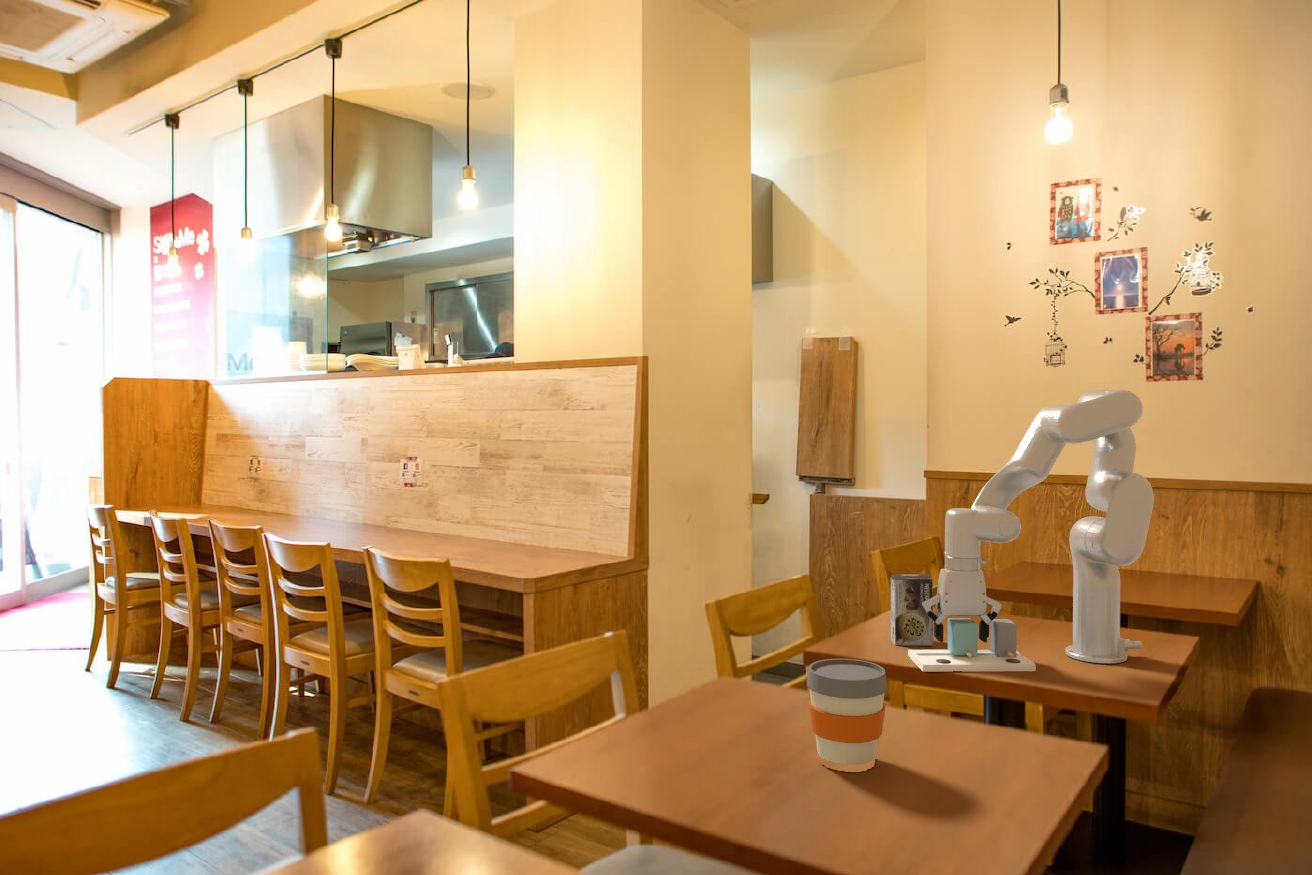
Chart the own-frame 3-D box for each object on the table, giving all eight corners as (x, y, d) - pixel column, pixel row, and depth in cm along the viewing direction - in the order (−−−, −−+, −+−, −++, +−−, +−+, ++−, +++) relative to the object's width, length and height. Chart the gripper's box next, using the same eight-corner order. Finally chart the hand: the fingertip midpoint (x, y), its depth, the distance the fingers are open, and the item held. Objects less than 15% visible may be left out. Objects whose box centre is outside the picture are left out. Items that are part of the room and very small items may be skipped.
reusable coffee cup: (792, 753, 149) (792, 662, 148) (858, 742, 153) (858, 654, 153) (833, 782, 137) (833, 684, 136) (903, 770, 141) (903, 675, 141)
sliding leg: (969, 648, 204) (970, 618, 204) (981, 658, 196) (981, 626, 196) (947, 649, 204) (947, 618, 204) (958, 658, 196) (958, 626, 196)
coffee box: (928, 639, 220) (928, 573, 220) (933, 646, 214) (933, 578, 213) (890, 638, 221) (890, 573, 221) (894, 645, 215) (894, 578, 214)
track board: (1014, 655, 205) (1014, 617, 205) (1035, 671, 193) (1035, 630, 193) (908, 656, 206) (908, 617, 205) (922, 671, 194) (923, 630, 193)
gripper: (995, 561, 204) (994, 636, 205) (918, 561, 205) (917, 636, 205) (1007, 567, 197) (1006, 645, 198) (928, 566, 197) (927, 644, 198)
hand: (961, 640), depth 201 cm, fingers open, 9 cm apart
